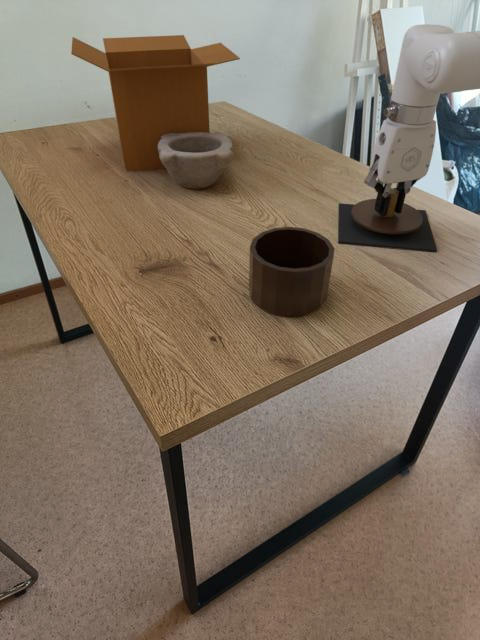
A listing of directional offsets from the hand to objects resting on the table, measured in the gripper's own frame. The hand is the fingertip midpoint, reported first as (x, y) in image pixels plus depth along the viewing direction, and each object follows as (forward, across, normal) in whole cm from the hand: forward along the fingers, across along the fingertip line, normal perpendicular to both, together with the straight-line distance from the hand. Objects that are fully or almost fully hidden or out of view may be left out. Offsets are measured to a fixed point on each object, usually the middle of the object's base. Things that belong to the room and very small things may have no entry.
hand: (387, 211), depth 88 cm
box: (+4, -32, +54) cm, 63 cm away
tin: (+3, -27, -13) cm, 30 cm away
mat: (+3, 0, 0) cm, 3 cm away
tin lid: (+1, 0, 0) cm, 1 cm away
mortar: (+4, -29, +34) cm, 45 cm away
